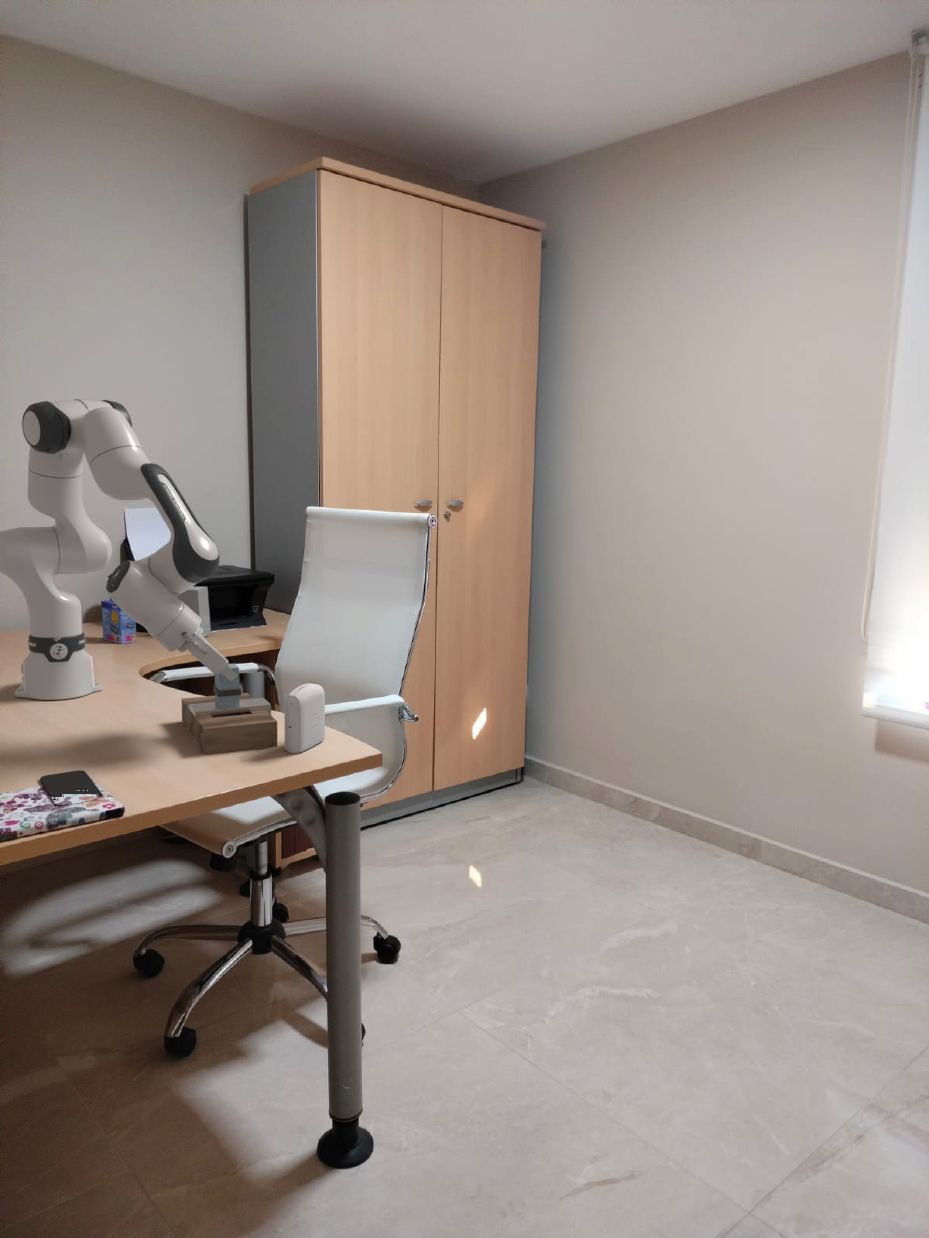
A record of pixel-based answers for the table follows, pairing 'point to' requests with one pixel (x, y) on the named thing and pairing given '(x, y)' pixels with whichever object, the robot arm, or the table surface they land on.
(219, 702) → the blue-gray rectangular block
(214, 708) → the white rectangular bar
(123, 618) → the ink cartridge box
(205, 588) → the skincare box
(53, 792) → the phone
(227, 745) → the brown tissue box
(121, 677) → the table surface
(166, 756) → the table surface
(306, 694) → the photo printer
